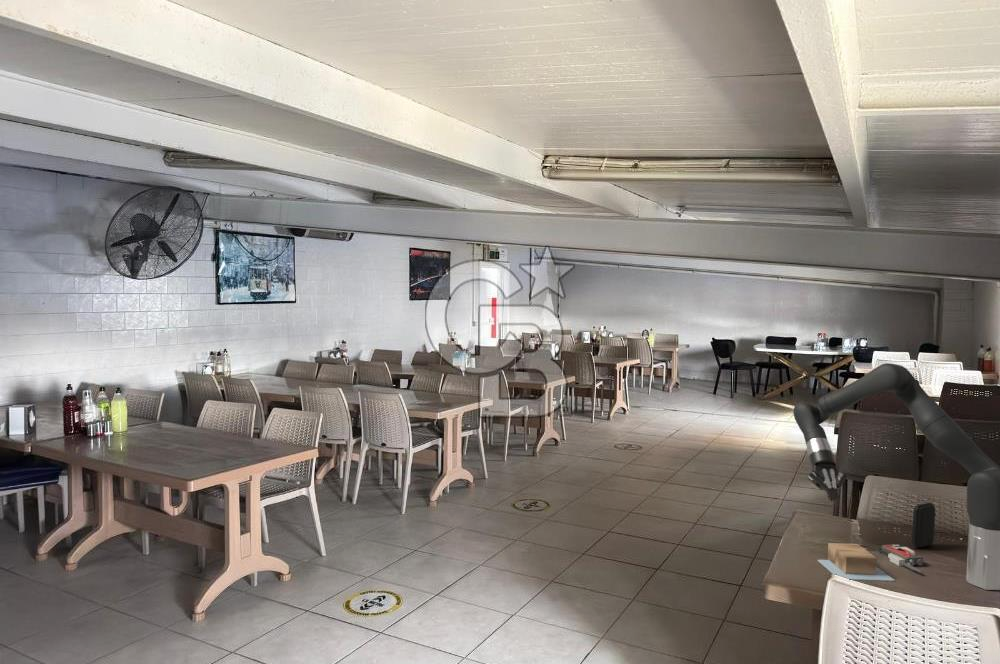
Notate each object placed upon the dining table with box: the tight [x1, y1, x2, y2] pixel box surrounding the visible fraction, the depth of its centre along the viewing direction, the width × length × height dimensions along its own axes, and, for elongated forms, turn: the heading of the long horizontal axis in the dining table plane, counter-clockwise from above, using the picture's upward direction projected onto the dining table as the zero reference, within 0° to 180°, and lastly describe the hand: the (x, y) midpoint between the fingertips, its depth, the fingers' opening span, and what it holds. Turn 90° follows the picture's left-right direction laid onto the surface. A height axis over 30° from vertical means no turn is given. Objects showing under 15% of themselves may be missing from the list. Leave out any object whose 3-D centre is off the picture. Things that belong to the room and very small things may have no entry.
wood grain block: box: [827, 542, 878, 574], centre depth 216 cm, size 5×9×12 cm
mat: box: [817, 559, 896, 582], centre depth 213 cm, size 15×16×1 cm
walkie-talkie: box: [877, 543, 924, 574], centre depth 221 cm, size 9×4×20 cm
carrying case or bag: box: [911, 502, 937, 549], centre depth 236 cm, size 11×3×15 cm, turn 118°
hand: (834, 500), depth 230 cm, fingers closed
